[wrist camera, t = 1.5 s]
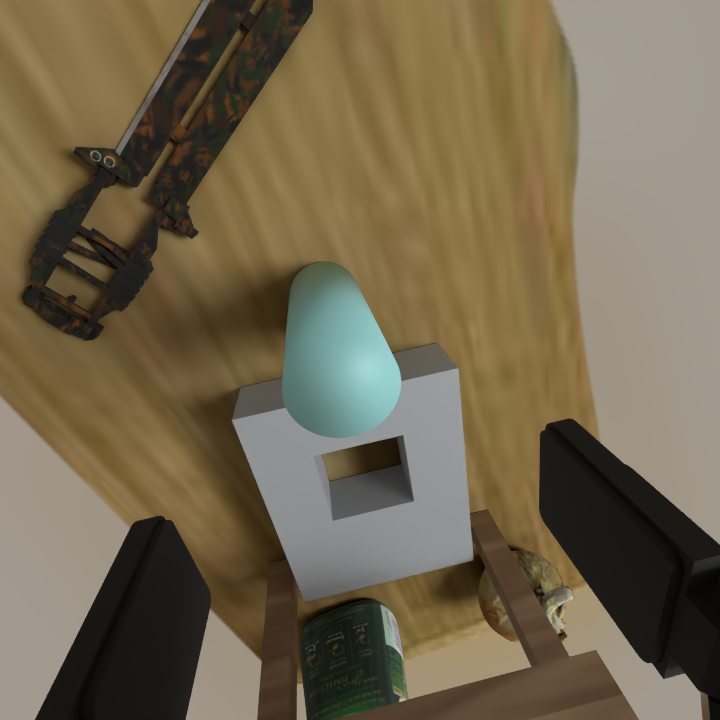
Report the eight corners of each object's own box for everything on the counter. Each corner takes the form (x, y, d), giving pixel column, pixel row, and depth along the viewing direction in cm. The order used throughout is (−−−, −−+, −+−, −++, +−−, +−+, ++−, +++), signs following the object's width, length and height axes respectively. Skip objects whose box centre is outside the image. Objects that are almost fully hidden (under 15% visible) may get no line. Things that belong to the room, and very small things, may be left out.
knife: (297, -136, 17) (296, -160, 16) (393, 5, 20) (399, -6, 19) (-4, 275, 23) (-22, 281, 21) (103, 345, 25) (92, 354, 24)
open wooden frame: (254, 528, 33) (212, 852, 17) (486, 472, 34) (647, 732, 18) (277, 581, 36) (259, 896, 20) (488, 528, 37) (628, 792, 21)
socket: (240, 387, 27) (231, 420, 24) (437, 342, 28) (458, 368, 24) (304, 558, 35) (304, 602, 32) (456, 521, 36) (473, 560, 32)
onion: (456, 556, 38) (493, 645, 31) (534, 523, 37) (590, 606, 30) (478, 598, 41) (515, 687, 34) (549, 568, 41) (602, 653, 34)
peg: (281, 269, 24) (266, 348, 13) (351, 254, 24) (392, 320, 14) (299, 335, 26) (298, 449, 15) (364, 320, 26) (408, 423, 16)
